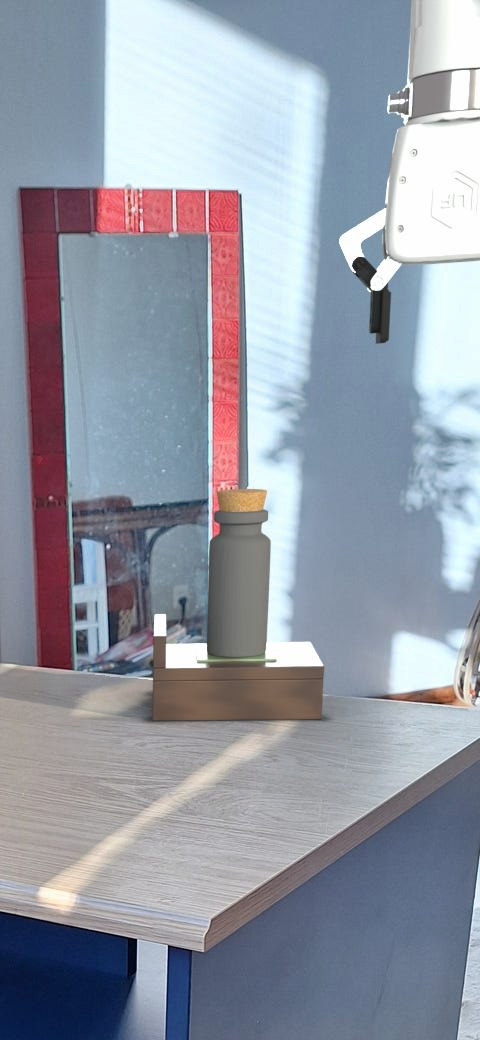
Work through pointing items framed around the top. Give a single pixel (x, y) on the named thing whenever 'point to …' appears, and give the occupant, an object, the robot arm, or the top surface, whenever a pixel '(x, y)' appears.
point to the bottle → (239, 576)
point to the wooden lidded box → (234, 682)
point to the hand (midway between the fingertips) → (439, 339)
